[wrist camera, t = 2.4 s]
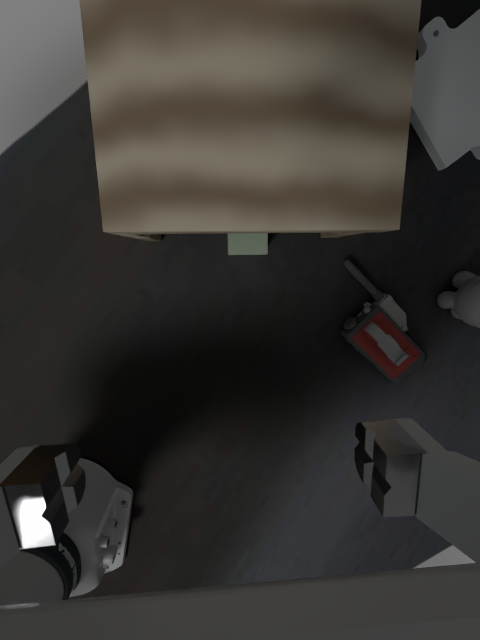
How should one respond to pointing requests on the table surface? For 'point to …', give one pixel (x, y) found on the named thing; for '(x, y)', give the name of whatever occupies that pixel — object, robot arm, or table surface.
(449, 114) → the mounting plate
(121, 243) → the table surface
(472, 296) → the chubby cartoon animal
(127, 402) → the table surface
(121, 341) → the table surface
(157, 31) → the wood grain stool
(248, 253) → the sage wooden block
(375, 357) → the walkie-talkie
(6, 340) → the table surface
